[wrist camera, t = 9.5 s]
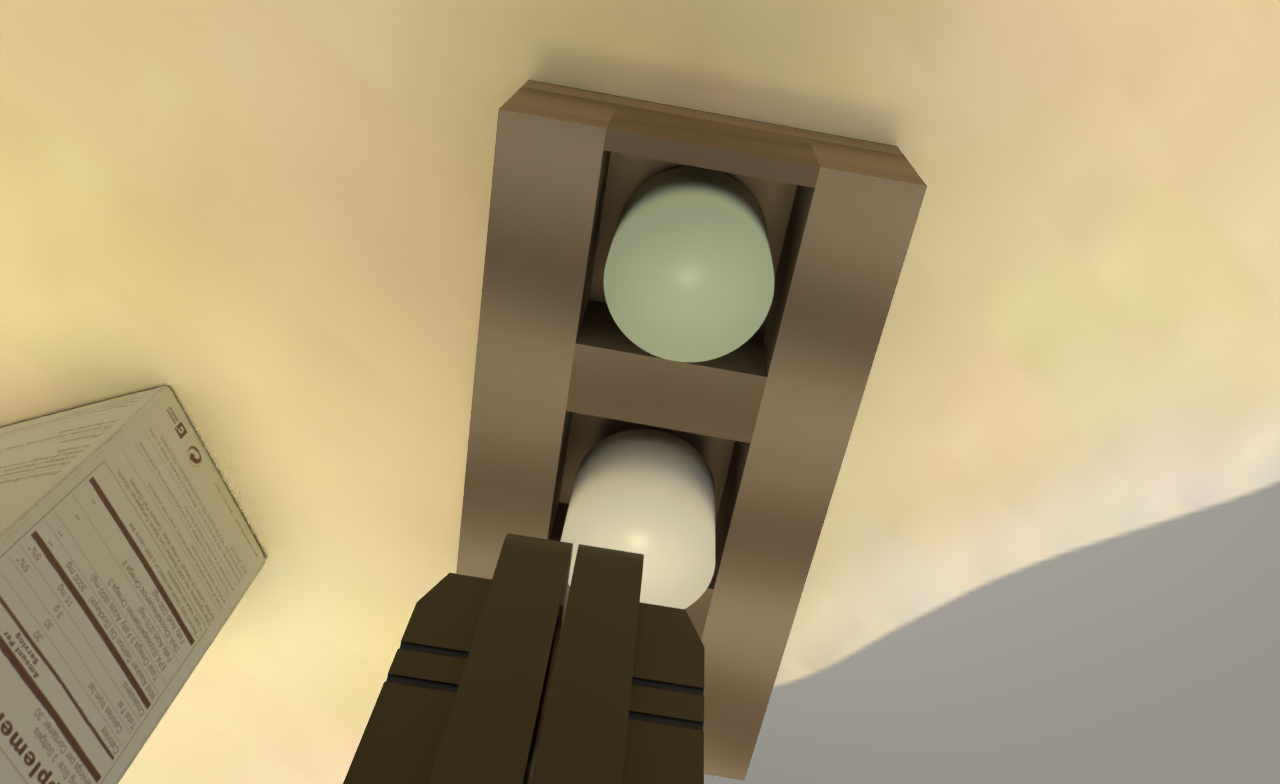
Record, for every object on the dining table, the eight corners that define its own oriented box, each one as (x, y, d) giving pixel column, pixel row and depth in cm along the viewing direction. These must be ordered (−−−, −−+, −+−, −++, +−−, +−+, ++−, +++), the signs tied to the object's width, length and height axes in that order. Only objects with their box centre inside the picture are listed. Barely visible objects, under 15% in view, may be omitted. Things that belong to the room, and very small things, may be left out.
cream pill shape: (585, 417, 26) (569, 480, 23) (728, 442, 26) (730, 508, 23) (566, 534, 28) (550, 606, 25) (700, 558, 28) (699, 631, 25)
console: (528, 80, 25) (498, 109, 22) (897, 146, 26) (927, 186, 22) (469, 644, 35) (442, 728, 31) (741, 690, 35) (744, 780, 31)
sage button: (628, 153, 24) (617, 187, 21) (783, 181, 24) (792, 218, 21) (605, 298, 26) (592, 346, 23) (749, 323, 26) (753, 375, 23)
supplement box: (95, 597, 35) (-197, 927, 24) (-17, 425, 32) (-416, 711, 21) (276, 562, 34) (57, 894, 22) (176, 379, 30) (-136, 657, 19)
